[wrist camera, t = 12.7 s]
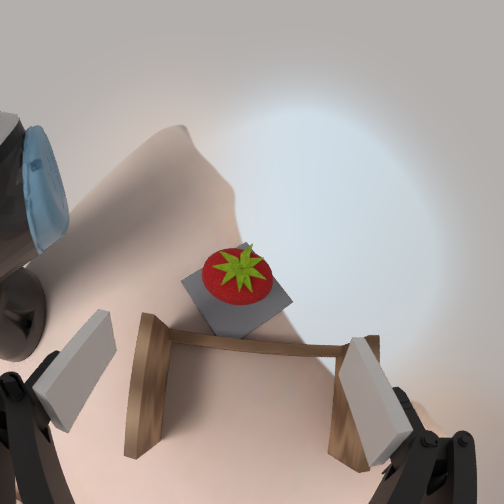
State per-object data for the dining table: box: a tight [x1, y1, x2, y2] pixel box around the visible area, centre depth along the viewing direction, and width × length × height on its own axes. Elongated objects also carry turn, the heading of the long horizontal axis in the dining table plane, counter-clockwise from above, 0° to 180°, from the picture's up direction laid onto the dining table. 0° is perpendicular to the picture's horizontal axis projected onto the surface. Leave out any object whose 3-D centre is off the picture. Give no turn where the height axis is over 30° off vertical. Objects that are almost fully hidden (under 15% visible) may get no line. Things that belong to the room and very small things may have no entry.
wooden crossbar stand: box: [124, 312, 380, 473], centre depth 24 cm, size 14×22×9 cm, turn 85°
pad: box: [181, 242, 293, 339], centre depth 34 cm, size 10×10×1 cm
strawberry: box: [202, 244, 273, 305], centre depth 29 cm, size 6×8×10 cm
